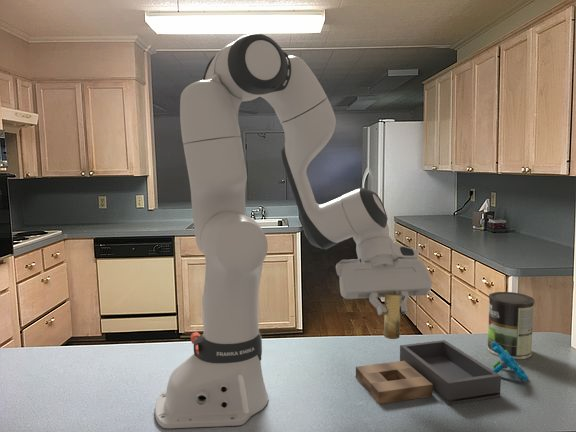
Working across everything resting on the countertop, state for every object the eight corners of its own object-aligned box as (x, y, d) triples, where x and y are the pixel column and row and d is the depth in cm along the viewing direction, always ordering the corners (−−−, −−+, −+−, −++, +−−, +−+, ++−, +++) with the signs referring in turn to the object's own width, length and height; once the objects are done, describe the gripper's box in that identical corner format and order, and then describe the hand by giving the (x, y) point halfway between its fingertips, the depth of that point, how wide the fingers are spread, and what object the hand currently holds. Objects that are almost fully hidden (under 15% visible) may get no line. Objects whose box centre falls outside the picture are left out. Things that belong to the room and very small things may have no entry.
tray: (448, 404, 89) (448, 383, 89) (399, 363, 109) (400, 345, 108) (500, 396, 92) (500, 375, 92) (444, 357, 112) (444, 340, 111)
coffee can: (494, 358, 110) (496, 302, 109) (482, 342, 121) (483, 291, 119) (539, 360, 109) (541, 303, 108) (523, 344, 119) (525, 292, 118)
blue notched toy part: (533, 383, 94) (496, 344, 97) (510, 400, 96) (475, 361, 99) (527, 368, 105) (494, 334, 107) (507, 383, 106) (475, 349, 109)
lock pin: (388, 339, 94) (389, 297, 93) (381, 334, 97) (382, 293, 96) (402, 338, 95) (403, 296, 94) (395, 332, 98) (396, 292, 97)
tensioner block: (378, 403, 90) (378, 392, 90) (355, 377, 102) (355, 366, 102) (432, 395, 93) (432, 384, 93) (404, 370, 105) (404, 360, 104)
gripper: (336, 252, 100) (348, 308, 91) (423, 249, 103) (443, 303, 94) (331, 267, 104) (342, 322, 96) (415, 264, 108) (433, 317, 99)
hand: (393, 313), depth 95 cm, fingers closed on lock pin, 3 cm apart
